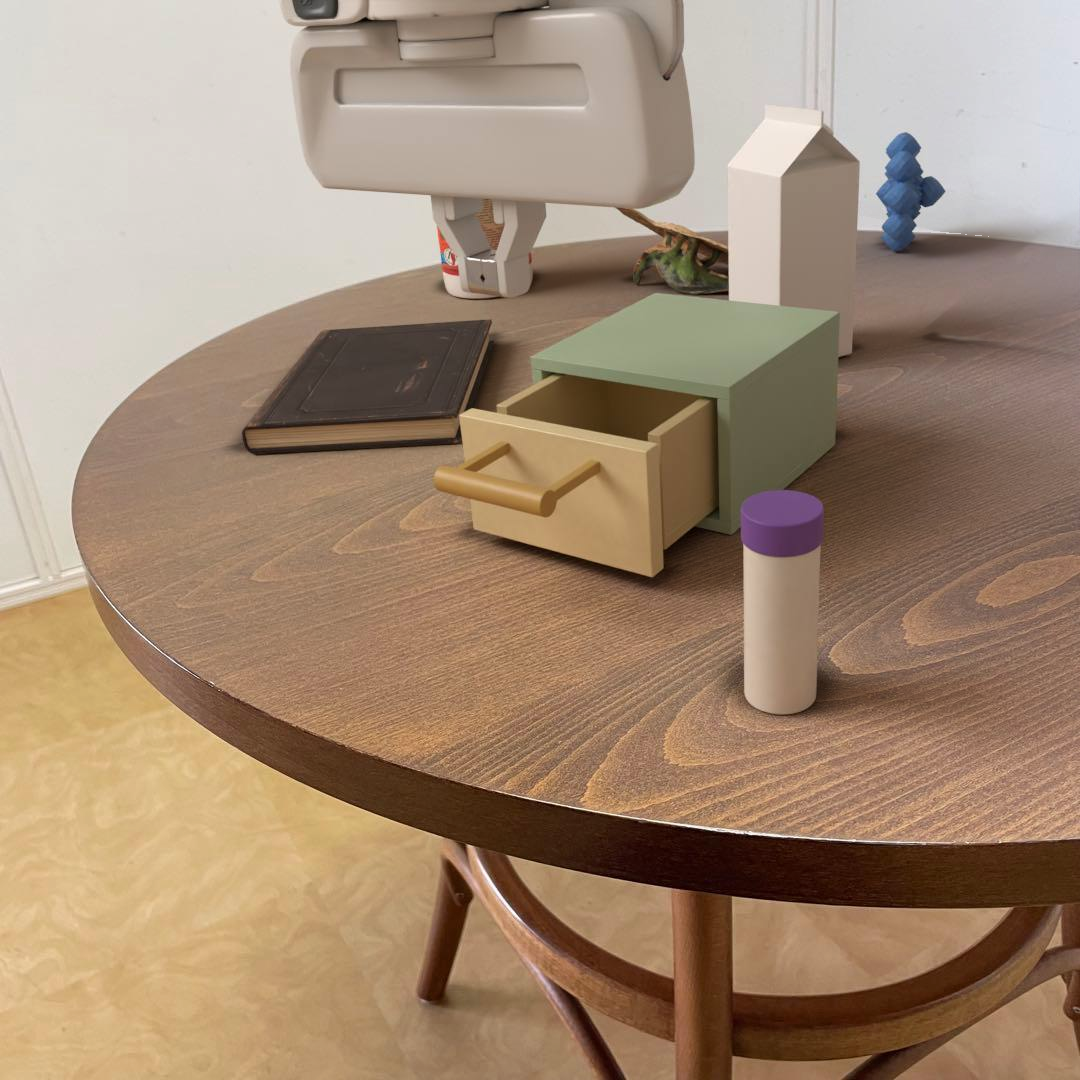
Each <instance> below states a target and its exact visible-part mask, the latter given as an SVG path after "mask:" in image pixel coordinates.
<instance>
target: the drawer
mask: <svg viewBox="0 0 1080 1080" xmlns="http://www.w3.org/2000/svg"><path fill="white" fill-rule="evenodd" d="M717 399H718V398H712V397H706V396H700V395H693V394H687V393H681V392H674V391H668V390H662V389H656V388H649V387H643V386H637V385H630V384H624V383H618V382H612V381H605V380H599V379H593V378H586V377H580V376H574V375H568V374H561V373H555V374H553V375H551V376H549V377H548V378H546V379H544V380H542V381H540V382H538V383H537V384H535V385H533V384H532V385H531V386H529V387H527V388H525V389H524V390H522V391H520V392H518V393H517V394H515V395H512V396H511V397H509V398H507V399H505V400H503V401H501V402H499V403H498V404H496V412H495V411H490V410H489V411H488V410H485V409H480V408H479V409H478V408H475V407H474V408H473V407H472V408H471V409H469V410H468V411H466V412H464V413H462V414H460V415H459V419H460V426H461V434H462V439H461V442H462V448H463V449H462V450H463V456H464V462H462V463H460V464H458V465H457V466H450V465H447V464H444V465H443V464H442V465H440V466H439V467H438V468H437V469H436V471H435V473H434V475H433V486H434V488H435V489H436V490H437V492H442V493H446V494H449V495H454V496H457V497H461V498H465V499H469V502H470V509H471V510H470V511H471V518H472V519H471V520H472V527H473V530H475V531H478V532H482V533H485V534H489V535H493V536H497V537H500V538H505V539H507V540H508V539H509V540H511V541H515V542H518V543H523V544H527V545H530V546H534V547H538V548H542V549H545V550H548V551H553V552H555V553H560V554H563V555H568V556H571V557H574V558H578V559H582V560H586V561H590V562H592V563H593V562H594V563H597V564H601V565H604V566H608V567H612V568H616V569H620V570H623V571H627V572H630V573H633V574H634V573H635V574H638V575H640V576H641V575H642V576H645V577H650V578H654V577H655V576H656V575H657V574H658V573H660V572H661V571H662V570H663V569H664V567H665V566H664V550H667V549H668V548H669V547H670V546H672V545H673V544H674V543H675V542H677V541H678V540H679V539H681V538H682V537H683V536H684V535H685V534H687V533H688V532H689V531H690V530H691V529H693V528H694V527H695V525H696V524H697V523H698V522H700V521H701V520H702V519H703V518H705V517H706V516H707V515H708V514H709V513H711V512H712V511H713V510H714V509H716V508H717V507H718V506H719V464H718V404H717Z"/></svg>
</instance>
